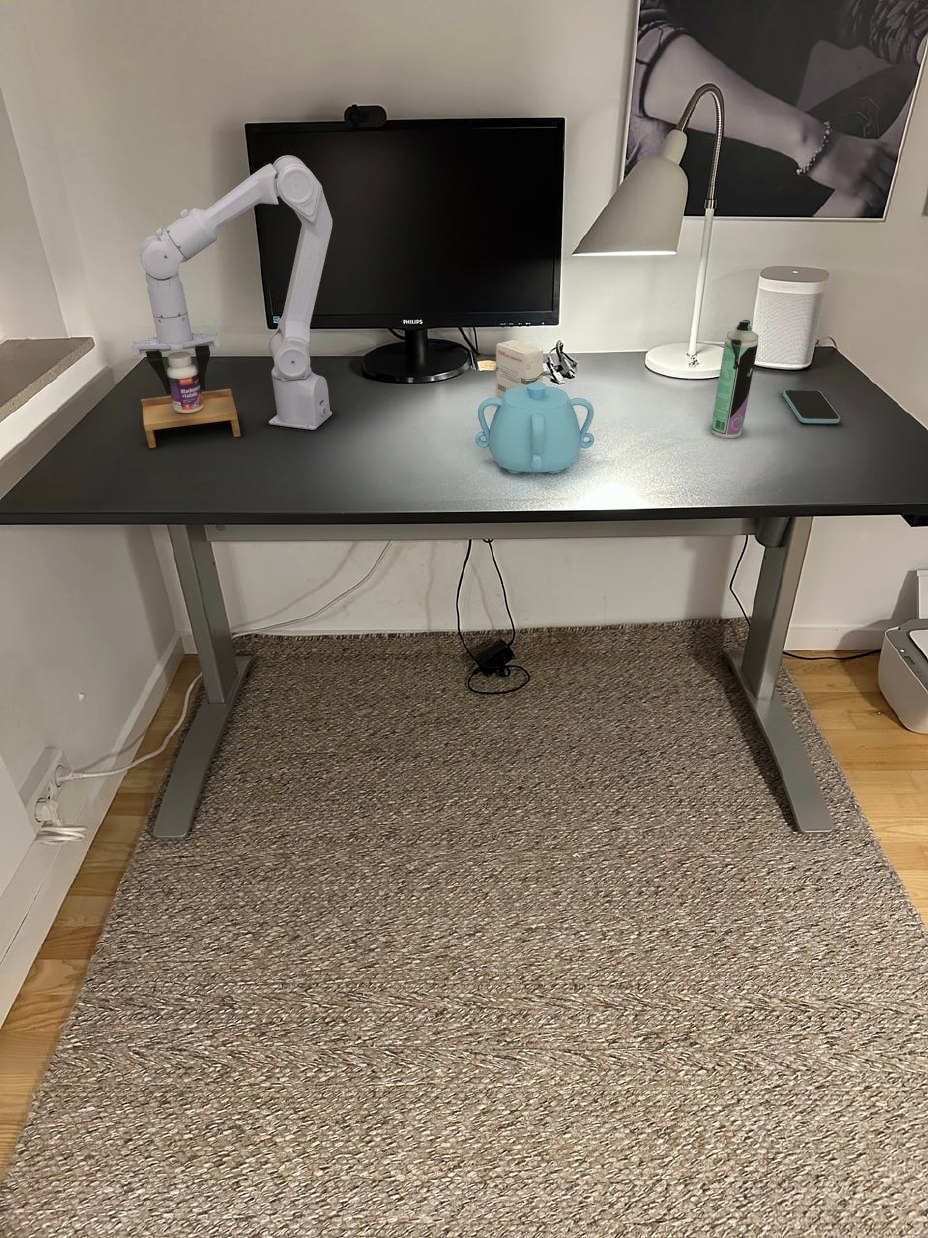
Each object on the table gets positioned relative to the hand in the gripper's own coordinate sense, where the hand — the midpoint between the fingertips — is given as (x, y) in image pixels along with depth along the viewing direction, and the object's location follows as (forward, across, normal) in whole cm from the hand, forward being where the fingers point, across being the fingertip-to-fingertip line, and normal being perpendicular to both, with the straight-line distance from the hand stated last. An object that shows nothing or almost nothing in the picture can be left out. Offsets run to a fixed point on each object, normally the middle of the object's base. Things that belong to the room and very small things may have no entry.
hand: (185, 390), depth 161 cm
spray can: (+8, +92, -31) cm, 97 cm away
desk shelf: (+8, 0, 0) cm, 8 cm away
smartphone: (+8, +112, -27) cm, 115 cm away
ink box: (+8, +60, -8) cm, 61 cm away
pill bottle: (+4, 0, 0) cm, 4 cm away
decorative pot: (+8, +55, -31) cm, 63 cm away
